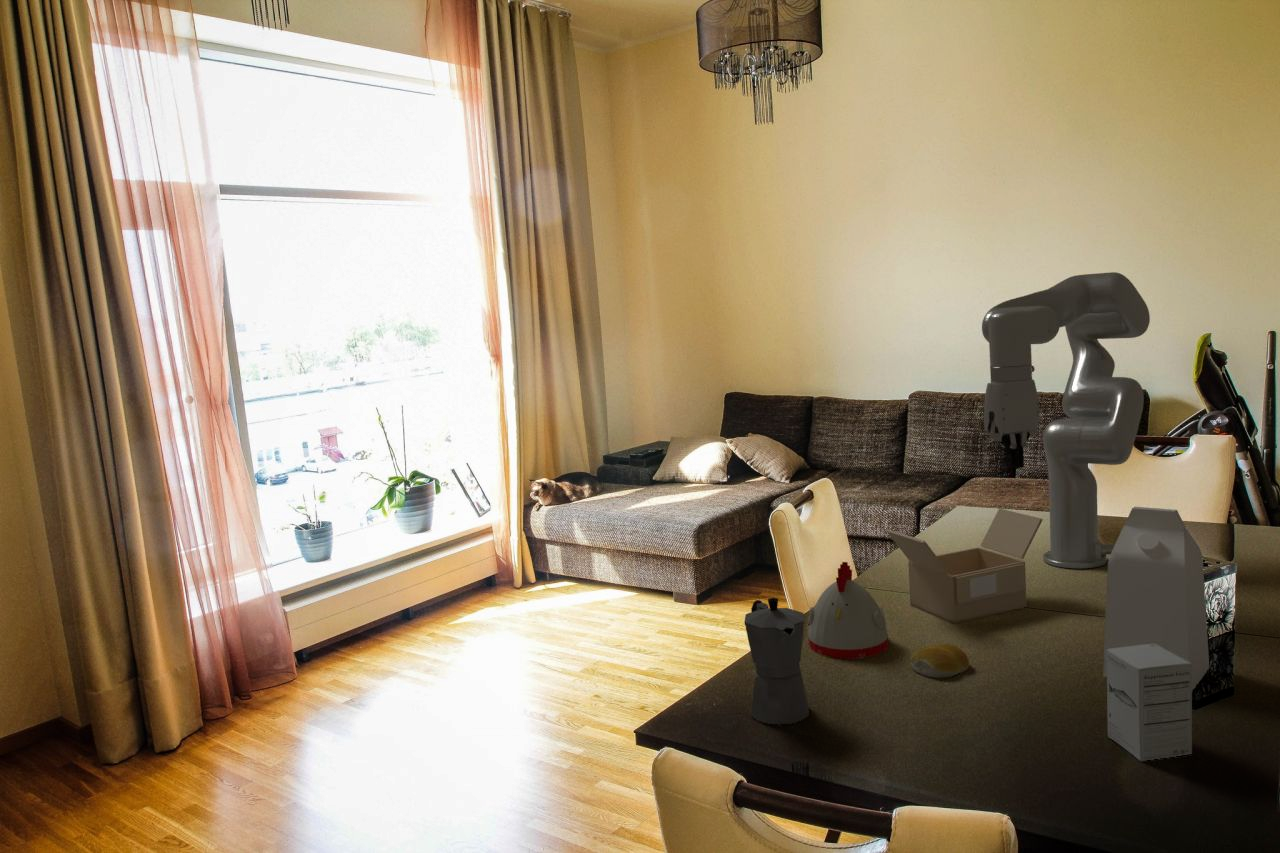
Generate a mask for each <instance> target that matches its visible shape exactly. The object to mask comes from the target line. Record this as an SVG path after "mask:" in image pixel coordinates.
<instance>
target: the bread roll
mask: <svg viewBox="0 0 1280 853" xmlns="http://www.w3.org/2000/svg"><path fill="white" fill-rule="evenodd" d="M969 664H970V662H969V658H968V656H967V654H966V653H965V652H964V651H963V650H962V649H961V648H960V647H959V646H957V645H955V644H950V643H940V644H939V643H938V644H934V645H929V646H928V647H927V646H926V648H921V649H918V650H916V651H914V653H913V654H912V655H911V658H910V667H911V668H912V670H913V671H914V672H915V673H916V674H917V673H918V674H919V675H922V676H925V677H928V678H931V677H932V679H945V678H946V679H947V678H950V677H953V676H955V675H958V674H962V673H964V672H966V671H967V670H968V669H969Z"/></svg>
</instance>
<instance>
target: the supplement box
mask: <svg viewBox="0 0 1280 853" xmlns="http://www.w3.org/2000/svg"><path fill="white" fill-rule="evenodd" d="M1106 686H1107V687H1106V691H1107V692H1106V694H1107V696H1106V699H1107V703H1106V704H1107V705H1106V706H1107V708H1106V710H1107V713H1106V714H1107V716H1106V717H1107V737H1108V738H1109V739H1111V740H1113V742H1115V743H1117V744H1118V745H1119V746H1120V747H1122V748H1123V749H1125V750H1126V751H1127V752H1128V753H1129V754H1131V755H1132V756H1133V757H1135V758H1136V759H1137V760H1138V761H1139V762H1148V761H1147V760H1151V761H1155V760H1154V759H1158V760H1163V759H1162V758H1167V759H1170V758H1169V757H1175V758H1177V757H1176V756H1182V755H1188V754H1192V755H1193V706H1192V705H1193V701H1192V700H1193V699H1192V698H1193V691H1192V664H1191V663H1190V662H1188V661H1186V660H1184V659H1183V658H1181V657H1179V656H1177V655H1175V654H1174V653H1172V652H1170V651H1168V650H1166V649H1164V648H1162V647H1161V646H1159V645H1157V644H1144V645H1136V646H1128V647H1120V648H1111V649H1107V677H1106ZM1160 758H1161V759H1160Z"/></svg>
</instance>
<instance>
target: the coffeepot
mask: <svg viewBox="0 0 1280 853" xmlns="http://www.w3.org/2000/svg"><path fill="white" fill-rule="evenodd" d="M767 603H768V604H767ZM767 603H765V602H763V601H762V600H759V599H757V600H754V601H753V603H752V606H751V609H750V611H751V612H748V613H746V614H745V617H744V626H745V631H746V635H747V640H748V645H749V649H750V653H751V654H750V655H751V658H752V659H751V660H752V663H753V664H754V665H755V666H754V669H755V670H754V671H755V672H754V681H753V690H752V691H753V692H752V701H751V702H752V704H751V717H752V718H753V719H754V720H757V721H758V722H759V721H761V722H760V723H762V722H763V723H762V724H765V723H767V724H766V725H770V724H773V725H772V726H782V725H781V724H789V725H793V724H792V723H794V724H797V723H796V722H798V721H800V720H802V719H804V718H805V717H807V718H808V717H809V716H810V708H809V707H810V706H809V701H808V697H807V692H806V687H805V683H804V678H803V675H802V670H801V667H800V662H801V660H802V647H803V646H802V645H803V635H804V623H805V615H804V612H802V611H799V610H795V609H792V608H788V607H778V605H779V598H777V597H769V598H767ZM805 719H806V718H805ZM805 719H804V720H805ZM802 721H803V720H802ZM800 722H801V721H800ZM798 723H799V722H798ZM775 724H777V725H775Z"/></svg>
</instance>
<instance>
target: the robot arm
mask: <svg viewBox="0 0 1280 853" xmlns="http://www.w3.org/2000/svg"><path fill="white" fill-rule="evenodd" d="M1150 317H1151V316H1150V311H1149V307H1148V306H1147V303H1146V302H1145V300H1144V298H1143V297H1142V295H1141V294H1140V292H1139V291H1138V289H1137V288H1136V287H1135V285H1134V284H1133V282H1132V281H1131V280H1130V279H1129V278H1128V277H1127V276H1125V275H1124V274H1121V273H1120V272H1116V271H1115V272H1114V271H1112V272H1110V271H1109V272H1098V273H1085V274H1078V275H1073V276H1069V277H1067V278H1065V279H1063V280H1062V281H1060V282H1057V283H1056V284H1055V285H1052V286H1051V287H1049V288H1046V289H1043V290H1039V291H1036V292H1033V293H1029V294H1026V295H1022V296H1019V297H1015V298H1012V299H1009V300H1005V301H1002V302H999V303H998V304H997V305H995V306H993V307H991V308H990V309H989V310H987V313H985V315H984V317H983V319H982V322H981V333H982V336H983V337H984V339H985V340H986V342H988V346H989V368H990V369H989V370H990V382H988V383H987V384H986V387H985V389H986V390H985V394H984V395H985V396H984V406H983V407H984V409H983V410H984V411H983V412H984V413H983V426H984V431H985V432H987V433H989V437H988V438H989V440H990V441H993V442H999V443H1000V444H1001V447H1002V448H1004V451H1005V452H1004V454H1005V455H1004V456H1005V457H1004V458H1005V467H1007V468H1010V469H1016V470H1017V469H1024V467H1025V459H1024V458H1025V457H1024V448H1025V447H1026V446H1027V441H1028V440H1029V438H1031V437H1033V436H1034V435H1036V434H1038V427H1039V426H1040V418H1041V417H1040V415H1041V414H1040V404H1039V398H1038V390H1037V386H1036V382H1035V380H1034V378H1033V373H1034V372H1035V370H1036V369H1035V368H1036V367H1035V366H1034V365H1032V363H1033V362H1032V361H1033V360H1032V345H1043V344H1046V343H1050V342H1051V341H1052V340H1054V339H1055V337H1056V336H1057V335H1058V333H1059V331H1060V328H1063V327H1064V328H1065V332H1066V335H1067V336H1066V337H1067V339H1068V344H1069V347H1070V349H1071V350H1070V351H1071V353H1072V366H1071V370H1070V373H1069V376H1068V379H1067V382H1066V386H1065V388H1064V392H1063V396H1062V401H1061V402H1062V403H1061V404H1062V405H1061V407H1062V411H1063V413H1064V414H1065V415H1066V416H1067V418H1066V417H1065V418H1059V419H1055V420H1053V421H1051V422H1049V423H1048V424H1047V425H1046V426H1045V428H1044V430H1043V433H1042V444H1043V449H1044V453H1045V457H1046V463H1047V464H1046V465H1047V473H1048V497H1049V501H1048V502H1049V532H1050V533H1049V536H1050V538H1049V539H1050V550H1048V551H1046V552H1044V553H1043V556H1042V557H1043V561H1044V563H1046V564H1049V565H1051V566H1054V567H1058V568H1066V569H1091V568H1099V567H1102V566H1103V565H1105V564H1106V563H1107V555H1111V552H1112V550H1113V548H1114V546H1115V544H1114V543H1113V544H1112V543H1111V544H1110V543H1109V544H1103V543H1101V541H1100V539H1099V530H1098V529H1099V527H1098V526H1099V522H1098V521H1099V520H1098V519H1099V517H1098V516H1099V515H1098V514H1099V513H1098V484H1097V480H1096V477H1095V475H1094V473H1093V472H1092V470H1091V469H1090V468H1089V466H1088V465H1089V464H1093V465H1106V466H1107V465H1108V466H1112V465H1113V466H1116V465H1122V464H1124V463H1125V462H1127V461H1128V460H1129V458H1130V456H1131V455H1132V452H1133V448H1134V445H1135V441H1136V437H1137V434H1138V429H1139V426H1140V422H1141V419H1142V414H1143V410H1144V401H1145V400H1144V399H1145V398H1144V397H1145V396H1144V390H1143V387H1142V386H1141V384H1140V382H1138V381H1137V380H1136V379H1135V378H1134V379H1133V378H1130V377H1126V376H1114V371H1115V368H1116V365H1115V364H1116V363H1115V361H1114V360H1115V359H1114V358H1113V357H1112V355H1111V354H1110V352H1109V351H1108V350H1107V349H1106V347H1104V346H1103V345H1102V344H1101V342H1100V341H1099V340H1105V339H1106V340H1109V339H1111V340H1112V339H1115V340H1116V339H1133V338H1134V339H1135V338H1138V337H1141V336H1142V335H1144V334H1145V333H1146V332H1147V331H1148V328H1149V325H1150V322H1151V321H1150V319H1151V318H1150ZM1068 417H1069V418H1068Z"/></svg>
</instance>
